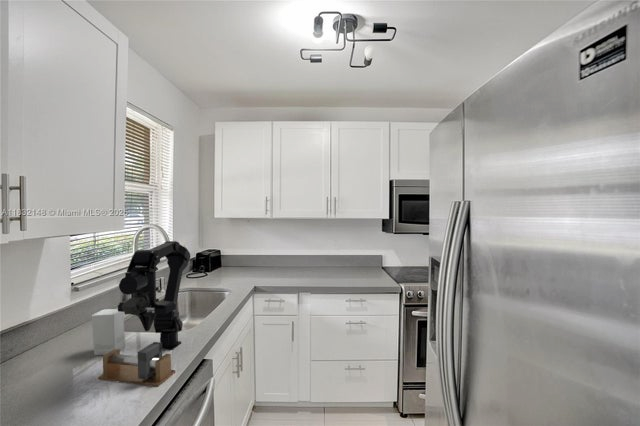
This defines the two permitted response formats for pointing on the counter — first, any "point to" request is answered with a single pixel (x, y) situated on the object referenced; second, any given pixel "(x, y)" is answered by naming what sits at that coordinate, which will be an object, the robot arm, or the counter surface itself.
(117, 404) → the counter surface
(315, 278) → the counter surface
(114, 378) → the pipe rig
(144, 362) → the collar
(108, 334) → the skincare box
